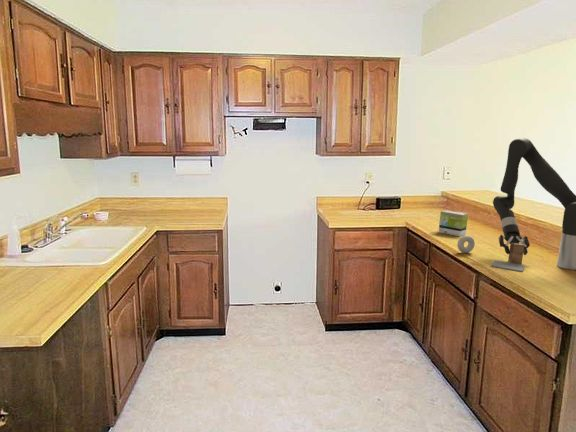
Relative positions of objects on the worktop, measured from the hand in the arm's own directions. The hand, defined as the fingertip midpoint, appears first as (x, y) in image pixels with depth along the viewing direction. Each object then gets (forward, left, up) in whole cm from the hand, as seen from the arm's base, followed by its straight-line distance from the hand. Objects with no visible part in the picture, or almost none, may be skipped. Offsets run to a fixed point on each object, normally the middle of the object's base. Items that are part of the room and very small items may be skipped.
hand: (517, 253), depth 222 cm
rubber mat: (+3, +9, -5) cm, 11 cm away
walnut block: (+1, -1, -5) cm, 5 cm away
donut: (+26, -4, -5) cm, 26 cm away
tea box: (+44, -53, -5) cm, 69 cm away
